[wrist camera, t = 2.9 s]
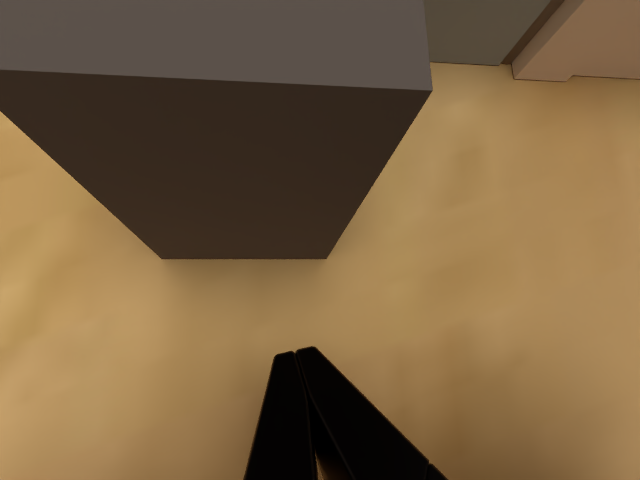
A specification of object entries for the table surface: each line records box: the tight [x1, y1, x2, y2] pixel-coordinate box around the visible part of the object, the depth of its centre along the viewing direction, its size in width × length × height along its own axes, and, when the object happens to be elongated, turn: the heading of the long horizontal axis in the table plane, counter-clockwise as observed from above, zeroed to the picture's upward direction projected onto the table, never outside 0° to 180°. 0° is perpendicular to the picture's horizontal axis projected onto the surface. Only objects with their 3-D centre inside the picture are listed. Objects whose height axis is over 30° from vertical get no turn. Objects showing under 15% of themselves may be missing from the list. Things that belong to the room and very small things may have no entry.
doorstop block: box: [0, 0, 433, 259], centre depth 12 cm, size 7×6×11 cm
